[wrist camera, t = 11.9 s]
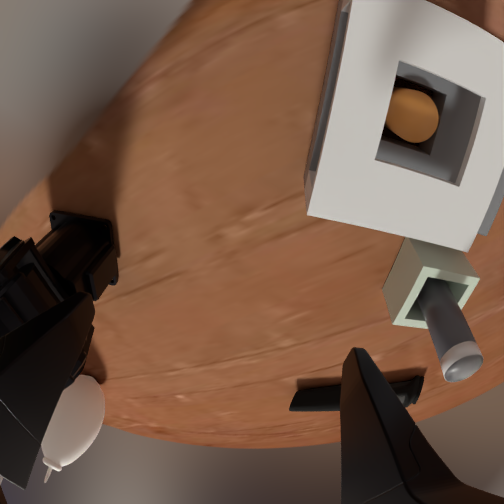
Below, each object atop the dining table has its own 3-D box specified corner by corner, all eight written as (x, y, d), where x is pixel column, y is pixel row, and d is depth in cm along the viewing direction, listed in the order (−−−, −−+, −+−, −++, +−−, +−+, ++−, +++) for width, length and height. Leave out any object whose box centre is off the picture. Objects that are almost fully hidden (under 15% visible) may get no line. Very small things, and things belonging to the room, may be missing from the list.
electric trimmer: (290, 378, 33) (288, 402, 30) (424, 371, 30) (430, 394, 27) (291, 396, 35) (289, 418, 32) (416, 389, 32) (420, 411, 29)
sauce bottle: (88, 392, 42) (47, 486, 27) (59, 360, 38) (7, 459, 23) (124, 396, 40) (84, 503, 25) (94, 362, 36) (40, 478, 21)
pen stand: (382, 289, 24) (392, 324, 21) (406, 234, 21) (423, 266, 18) (432, 297, 24) (447, 330, 21) (459, 247, 21) (480, 278, 18)
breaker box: (303, 177, 20) (306, 215, 15) (338, -1, 13) (356, -24, 9) (474, 223, 20) (508, 263, 15) (519, 80, 13) (569, 93, 9)
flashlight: (401, 279, 23) (436, 381, 15) (413, 252, 22) (460, 353, 14) (427, 284, 23) (467, 381, 15) (440, 258, 22) (491, 354, 14)
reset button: (372, 125, 17) (384, 133, 15) (383, 80, 16) (396, 82, 14) (415, 138, 17) (430, 149, 15) (426, 95, 16) (443, 101, 13)
